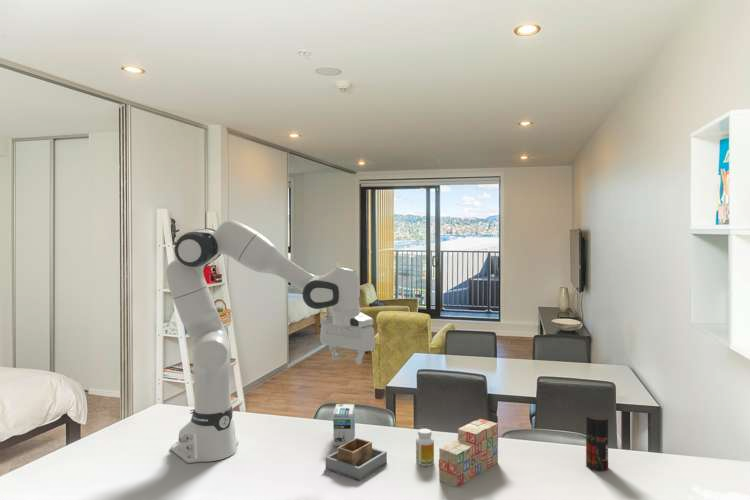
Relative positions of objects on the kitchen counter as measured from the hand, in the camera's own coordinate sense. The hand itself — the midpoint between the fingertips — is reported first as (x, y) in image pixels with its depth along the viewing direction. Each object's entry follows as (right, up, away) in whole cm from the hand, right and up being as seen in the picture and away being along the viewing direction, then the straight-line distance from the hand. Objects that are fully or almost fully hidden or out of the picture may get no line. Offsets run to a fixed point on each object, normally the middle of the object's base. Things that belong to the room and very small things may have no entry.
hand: (346, 361), depth 157 cm
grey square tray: (+3, -29, -10) cm, 31 cm away
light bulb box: (-1, -29, +10) cm, 31 cm away
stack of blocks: (+37, -29, -13) cm, 49 cm away
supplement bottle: (+24, -29, -7) cm, 39 cm away
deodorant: (+75, -29, -11) cm, 81 cm away
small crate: (+3, -29, -10) cm, 30 cm away
